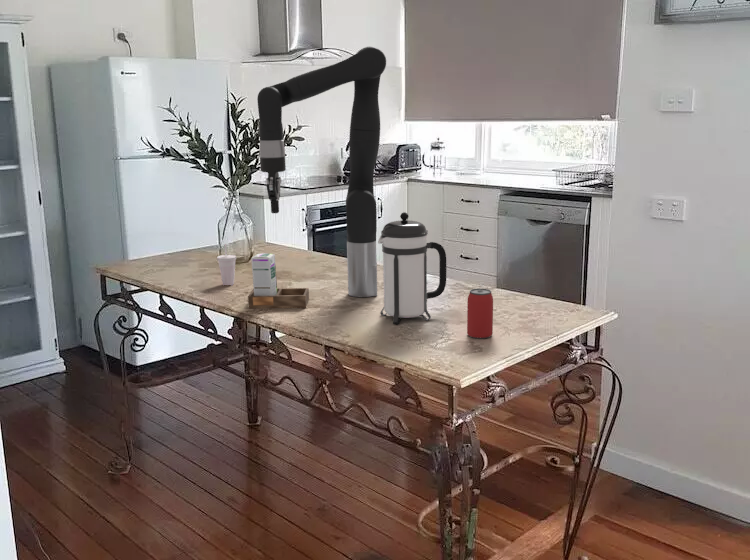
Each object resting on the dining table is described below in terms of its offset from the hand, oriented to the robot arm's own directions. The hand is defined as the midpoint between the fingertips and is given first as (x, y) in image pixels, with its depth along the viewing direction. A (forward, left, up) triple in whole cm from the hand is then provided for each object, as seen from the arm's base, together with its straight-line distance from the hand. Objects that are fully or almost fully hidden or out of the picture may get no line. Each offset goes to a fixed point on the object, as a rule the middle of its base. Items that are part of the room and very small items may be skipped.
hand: (275, 212), depth 232 cm
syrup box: (+3, +7, -26) cm, 27 cm away
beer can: (-58, +40, -27) cm, 76 cm away
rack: (-1, +7, -27) cm, 28 cm away
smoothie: (+20, -19, -27) cm, 39 cm away
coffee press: (-40, +22, -27) cm, 53 cm away
